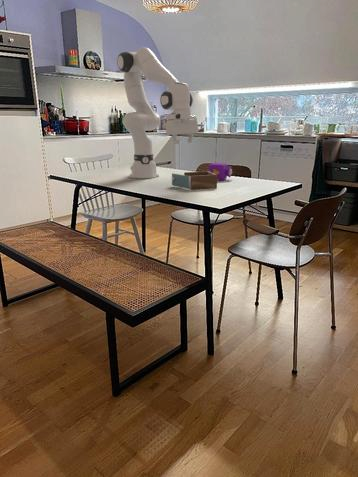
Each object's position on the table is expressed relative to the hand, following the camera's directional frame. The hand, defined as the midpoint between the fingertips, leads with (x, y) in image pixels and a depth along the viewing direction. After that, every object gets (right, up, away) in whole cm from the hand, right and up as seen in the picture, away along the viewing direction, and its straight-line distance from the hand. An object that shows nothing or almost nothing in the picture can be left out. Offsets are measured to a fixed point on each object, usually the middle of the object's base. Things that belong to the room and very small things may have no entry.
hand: (183, 143), depth 197 cm
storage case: (+9, -22, +6) cm, 25 cm away
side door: (-1, -23, +2) cm, 23 cm away
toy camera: (+23, -15, +28) cm, 39 cm away
